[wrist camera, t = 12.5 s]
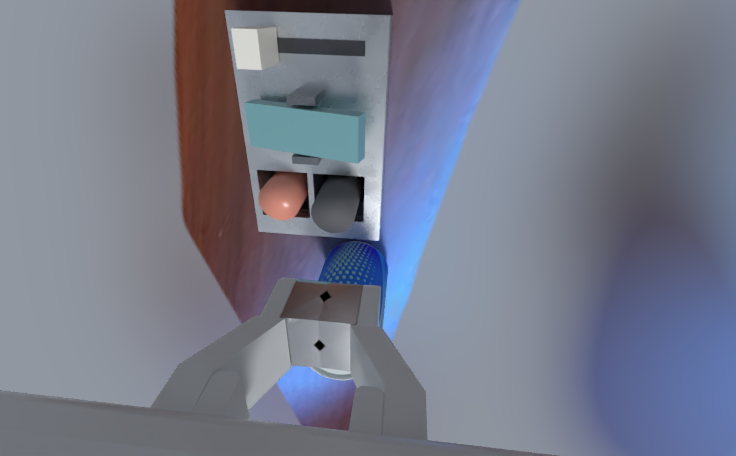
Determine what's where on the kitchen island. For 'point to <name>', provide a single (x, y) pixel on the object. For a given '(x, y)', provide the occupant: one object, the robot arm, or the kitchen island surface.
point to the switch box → (321, 104)
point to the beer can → (354, 280)
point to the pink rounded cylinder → (284, 194)
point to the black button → (337, 203)
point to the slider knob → (255, 47)
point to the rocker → (307, 130)
